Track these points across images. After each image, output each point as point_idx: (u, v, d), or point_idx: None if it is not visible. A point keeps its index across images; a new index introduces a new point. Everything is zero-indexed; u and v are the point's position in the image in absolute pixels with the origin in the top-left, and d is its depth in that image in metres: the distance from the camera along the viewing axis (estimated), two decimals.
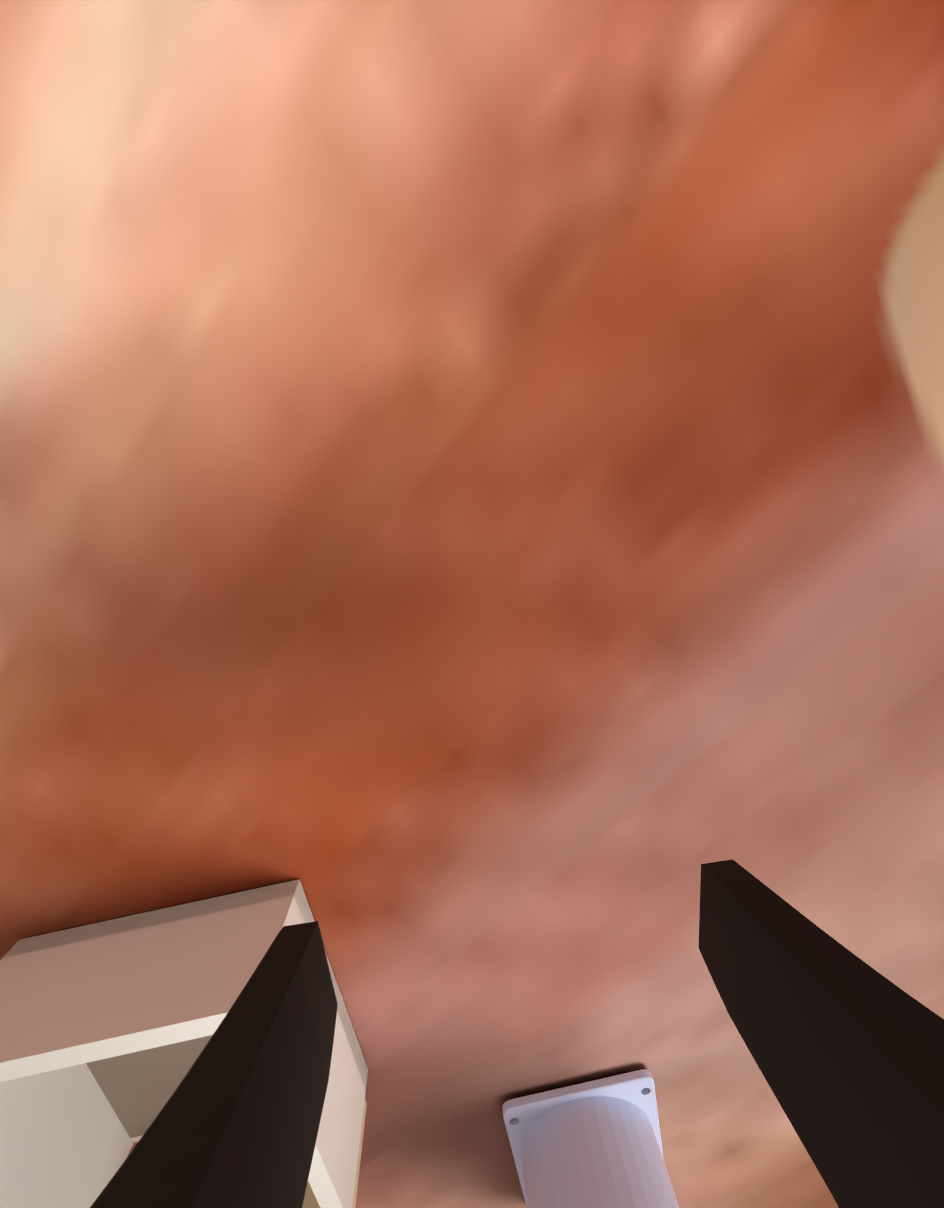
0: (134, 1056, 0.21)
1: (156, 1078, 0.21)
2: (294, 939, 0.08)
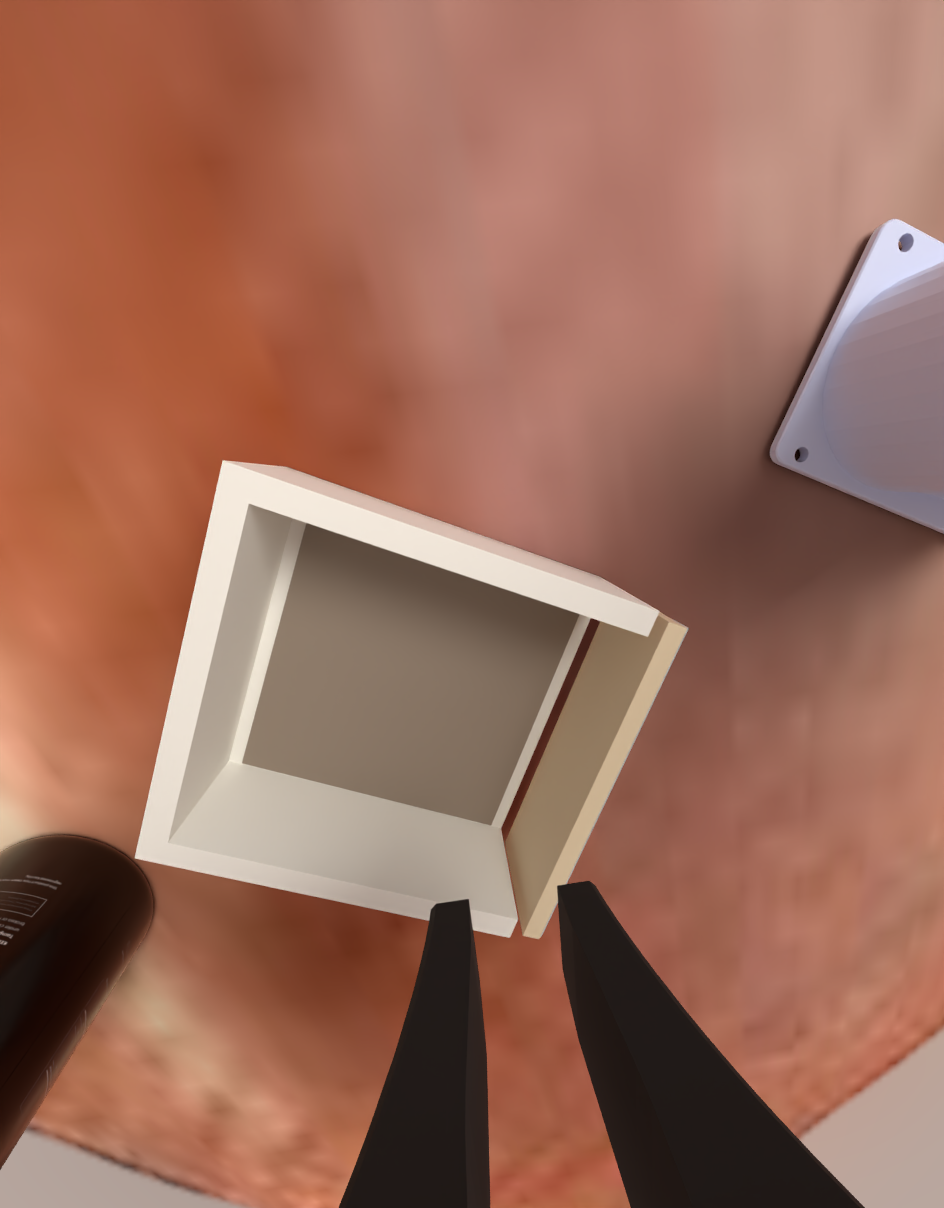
0: (394, 754, 0.18)
1: (433, 754, 0.18)
2: (453, 915, 0.08)
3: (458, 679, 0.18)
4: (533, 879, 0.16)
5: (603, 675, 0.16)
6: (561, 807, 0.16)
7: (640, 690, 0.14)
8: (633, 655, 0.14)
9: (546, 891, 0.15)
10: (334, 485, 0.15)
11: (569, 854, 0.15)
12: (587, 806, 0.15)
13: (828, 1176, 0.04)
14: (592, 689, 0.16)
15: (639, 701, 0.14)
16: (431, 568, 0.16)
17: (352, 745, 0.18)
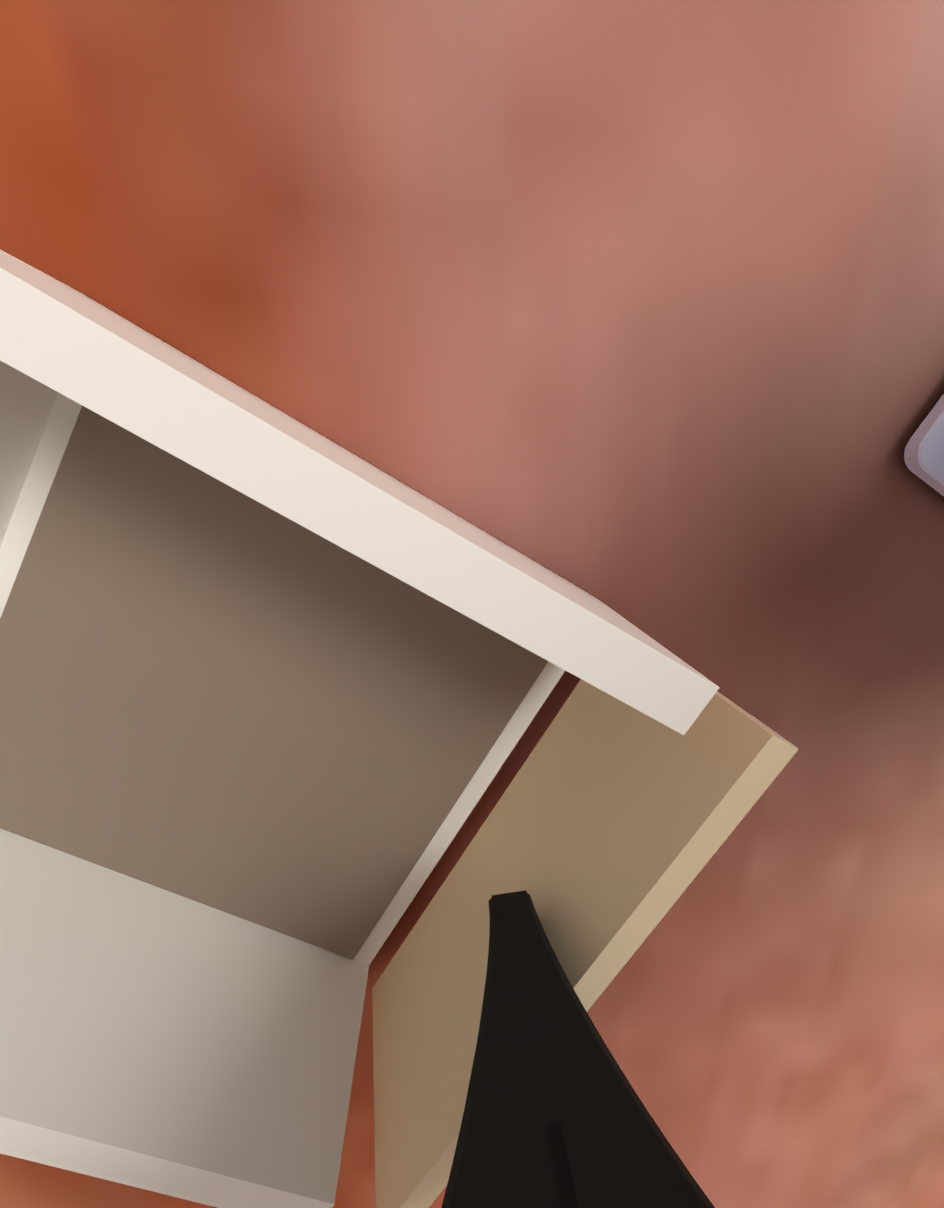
0: (206, 827, 0.11)
1: (272, 838, 0.11)
2: (513, 906, 0.08)
3: (333, 723, 0.10)
4: (410, 1121, 0.09)
5: (590, 779, 0.09)
6: (481, 1007, 0.09)
7: (684, 855, 0.07)
8: (666, 770, 0.08)
9: (432, 1174, 0.08)
10: (149, 335, 0.08)
11: None
12: None
13: (699, 1199, 0.04)
14: (563, 795, 0.09)
15: (675, 873, 0.07)
16: None
17: (134, 802, 0.10)
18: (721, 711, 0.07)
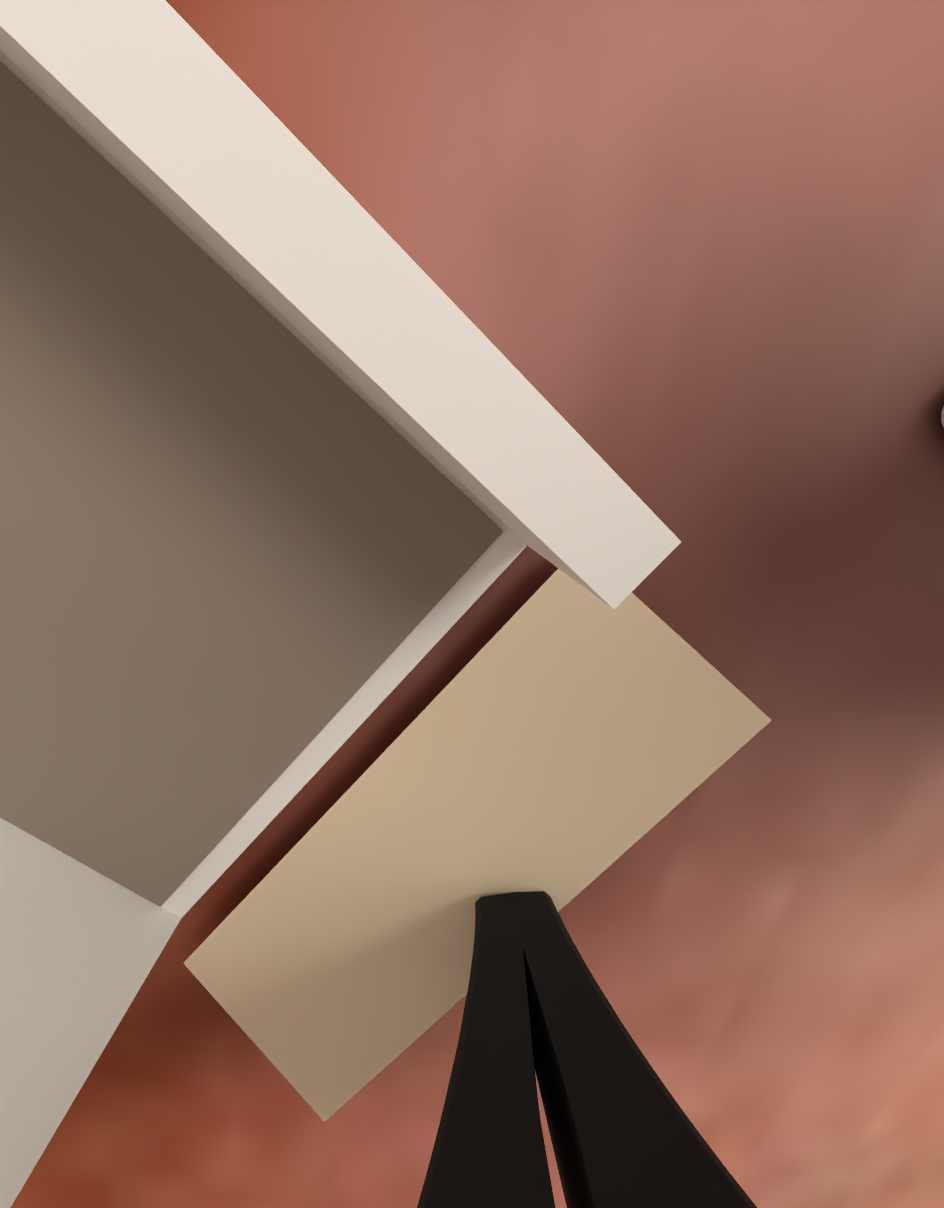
0: None
1: (74, 728, 0.08)
2: (499, 907, 0.08)
3: (179, 590, 0.08)
4: (340, 1044, 0.09)
5: (553, 737, 0.08)
6: (425, 946, 0.09)
7: (673, 807, 0.08)
8: (659, 737, 0.08)
9: (390, 1061, 0.09)
10: None
11: None
12: None
13: (737, 1192, 0.04)
14: (511, 750, 0.08)
15: (655, 815, 0.08)
16: (187, 303, 0.07)
17: None
18: (723, 690, 0.08)
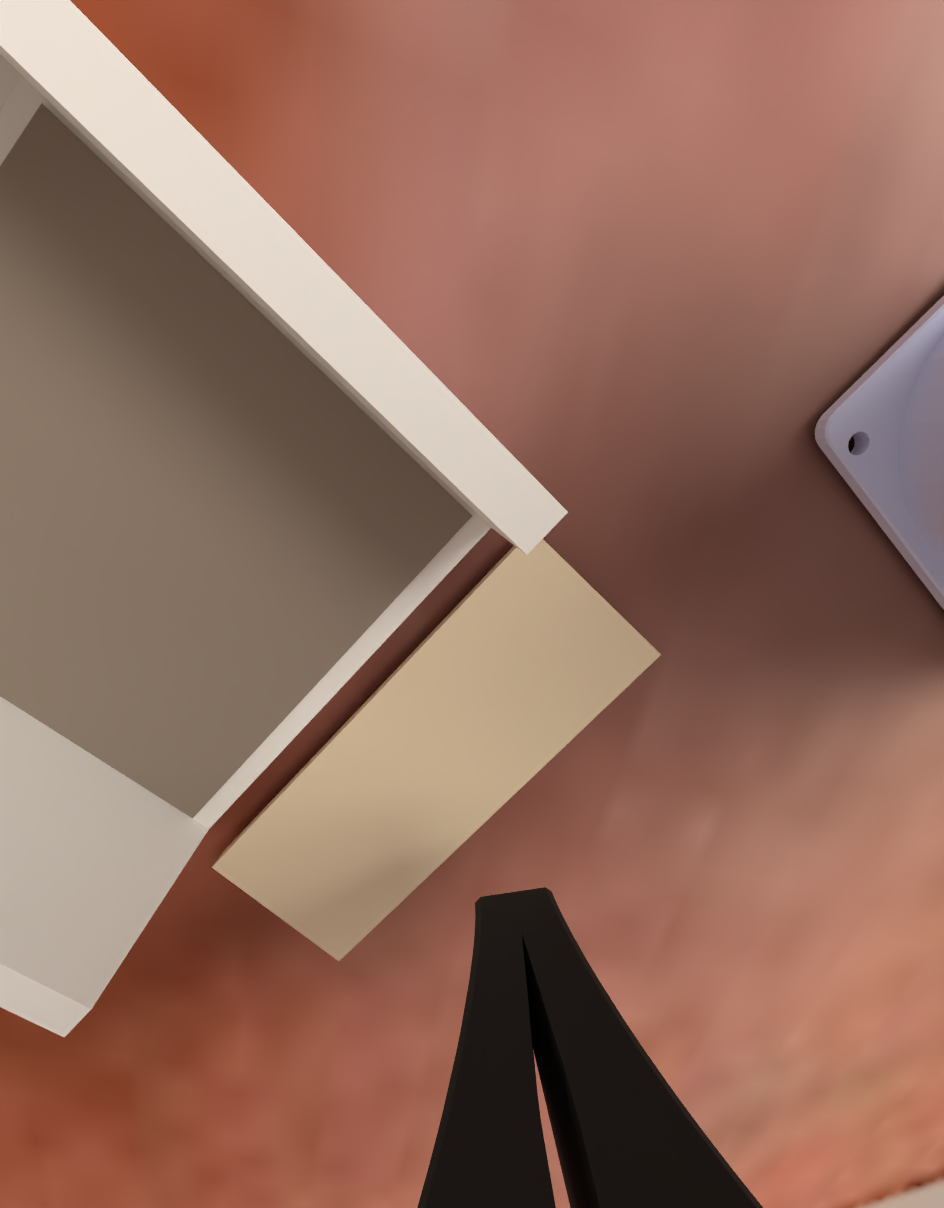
0: (63, 640, 0.10)
1: (131, 666, 0.11)
2: (499, 908, 0.08)
3: (219, 557, 0.10)
4: (350, 907, 0.12)
5: (511, 673, 0.11)
6: (414, 830, 0.12)
7: (593, 717, 0.11)
8: (586, 670, 0.11)
9: (388, 913, 0.12)
10: None
11: None
12: None
13: (742, 1192, 0.04)
14: (479, 685, 0.11)
15: (582, 724, 0.11)
16: (235, 339, 0.09)
17: None
18: (631, 635, 0.11)
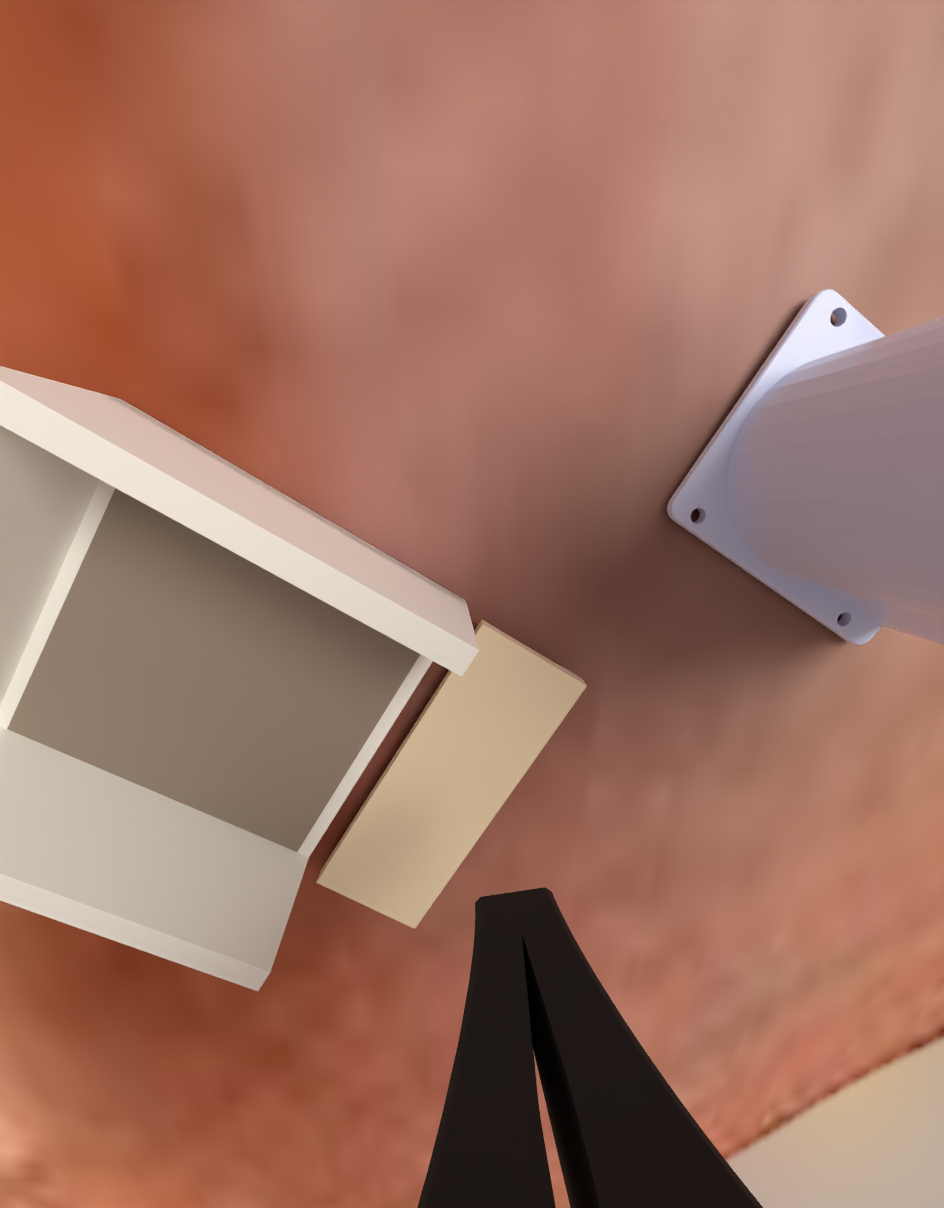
0: (195, 752, 0.16)
1: (240, 760, 0.16)
2: (499, 908, 0.08)
3: (282, 681, 0.15)
4: (414, 891, 0.17)
5: (488, 718, 0.16)
6: (447, 832, 0.17)
7: (551, 735, 0.16)
8: (538, 706, 0.16)
9: (441, 890, 0.18)
10: (165, 431, 0.13)
11: None
12: (487, 822, 0.17)
13: (742, 1191, 0.04)
14: (469, 729, 0.16)
15: (545, 740, 0.16)
16: None
17: (146, 733, 0.15)
18: (563, 677, 0.16)
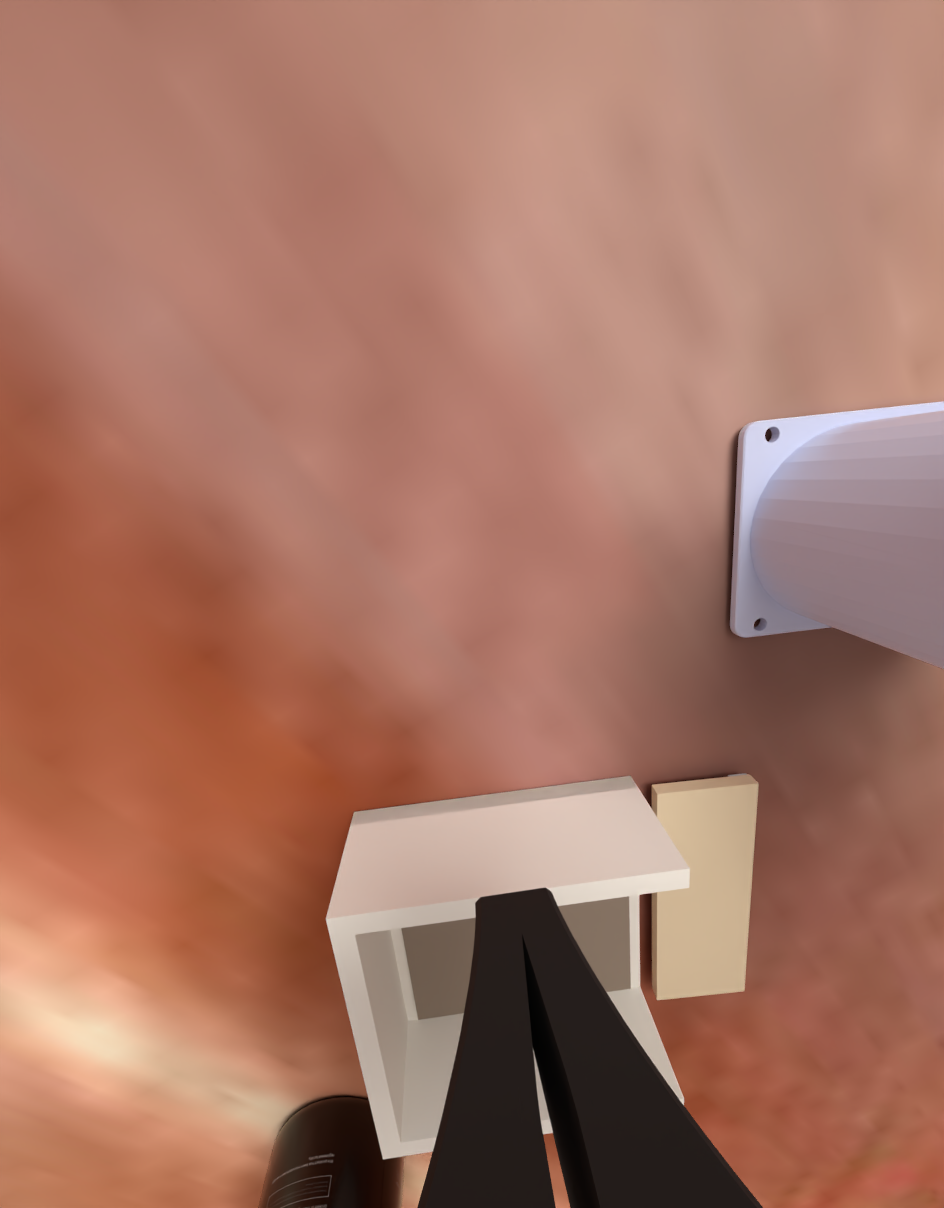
0: None
1: None
2: (499, 908, 0.08)
3: None
4: (727, 969, 0.22)
5: (702, 843, 0.20)
6: (724, 924, 0.21)
7: (754, 825, 0.20)
8: (732, 815, 0.20)
9: (746, 958, 0.22)
10: (395, 820, 0.19)
11: None
12: None
13: (742, 1192, 0.04)
14: (694, 857, 0.20)
15: (752, 830, 0.20)
16: None
17: None
18: (738, 788, 0.19)
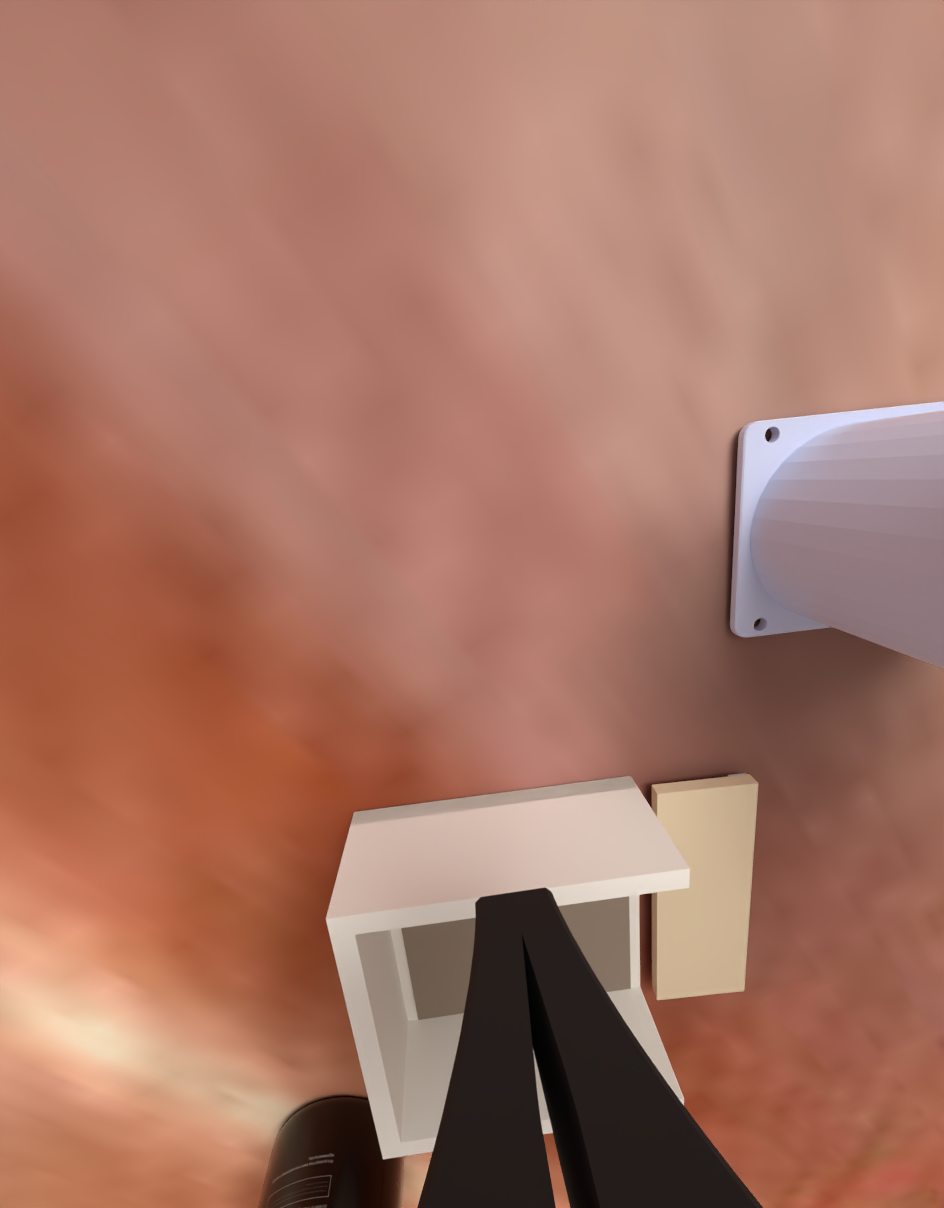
0: None
1: None
2: (499, 908, 0.08)
3: None
4: (727, 969, 0.22)
5: (702, 843, 0.20)
6: (724, 924, 0.21)
7: (754, 825, 0.20)
8: (732, 815, 0.20)
9: (745, 958, 0.22)
10: (395, 820, 0.19)
11: None
12: None
13: (742, 1192, 0.04)
14: (694, 857, 0.20)
15: (752, 830, 0.20)
16: None
17: None
18: (737, 788, 0.19)
